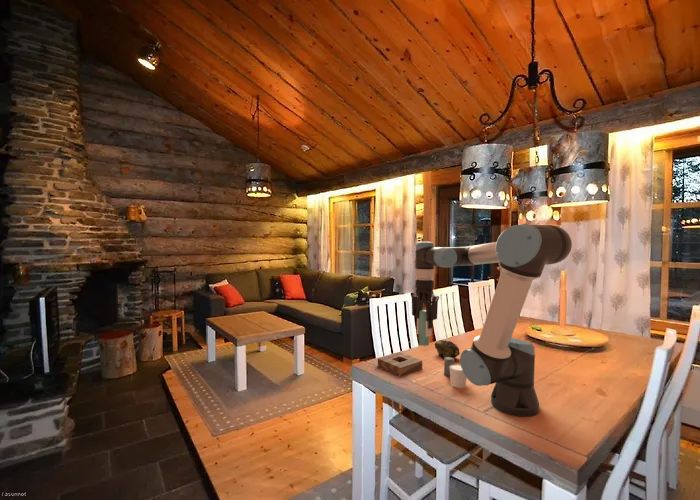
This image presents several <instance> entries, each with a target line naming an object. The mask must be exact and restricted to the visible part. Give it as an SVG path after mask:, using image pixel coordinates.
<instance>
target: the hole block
mask: <svg viewBox="0 0 700 500" xmlns="http://www.w3.org/2000/svg"><path fill="white" fill-rule="evenodd" d="M377 367H379V368H381V369H383V370H385V371H388V372H390V373H393V374H394V375H397V376H399V377H401V376H404V375H407V374H410V373H412V372H415V371H418V370H422V369H423V359H419V358H417V357H414V356H412V355H409V354H406V353H404V352H395V353H391V354H389V355H385V356H380V357H378V358H377Z"/></svg>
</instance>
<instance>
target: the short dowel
mask: <svg viewBox="0 0 700 500" xmlns="http://www.w3.org/2000/svg"><path fill="white" fill-rule="evenodd" d="M443 361H444V363H443V365H444V366H443V367H444V368H443V370H444V371H443V373H444V374H443V376H444V377H447V378H450V366H451V365H455V358H451V357H444V360H443Z"/></svg>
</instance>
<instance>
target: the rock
mask: <svg viewBox="0 0 700 500" xmlns="http://www.w3.org/2000/svg"><path fill="white" fill-rule="evenodd" d="M434 349H436V350H437V354H438V355H439V356H442V357H444V358H446V357H451V358H454V359H455V358H457V357H458V356H460V355H461V352H460V348H459V347H458V345H456V344H455V343H454V342H453V341H450V340H443V339H442V340H441V339H440V340H437V341H436V342H434Z"/></svg>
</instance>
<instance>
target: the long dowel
mask: <svg viewBox="0 0 700 500" xmlns="http://www.w3.org/2000/svg"><path fill="white" fill-rule="evenodd" d="M426 320H427V313H426V309H422V310H420V311H419V334H418V337H419V338H418V344H419V345H420V346H422V347H423V346H424V347H426V346H429V345H430V336H428V337H426ZM419 345H418V346H419Z"/></svg>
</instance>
